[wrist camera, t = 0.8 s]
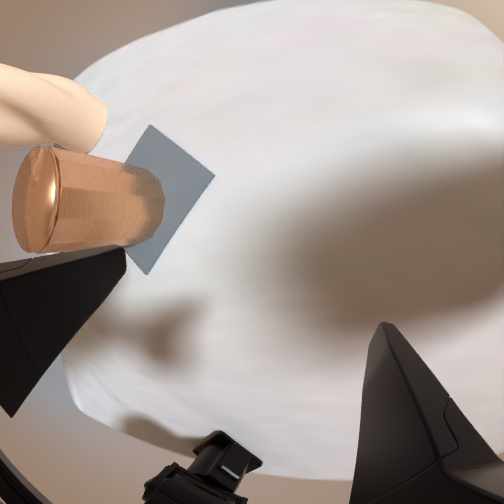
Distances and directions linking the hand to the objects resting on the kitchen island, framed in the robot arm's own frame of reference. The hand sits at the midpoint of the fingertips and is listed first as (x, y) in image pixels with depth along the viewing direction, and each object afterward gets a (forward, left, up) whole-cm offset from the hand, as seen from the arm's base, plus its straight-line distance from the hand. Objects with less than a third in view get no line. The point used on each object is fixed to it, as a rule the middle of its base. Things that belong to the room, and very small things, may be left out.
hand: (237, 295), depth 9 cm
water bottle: (-4, +30, -15) cm, 34 cm away
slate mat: (-6, +15, -14) cm, 22 cm away
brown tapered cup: (-7, +16, -14) cm, 22 cm away
